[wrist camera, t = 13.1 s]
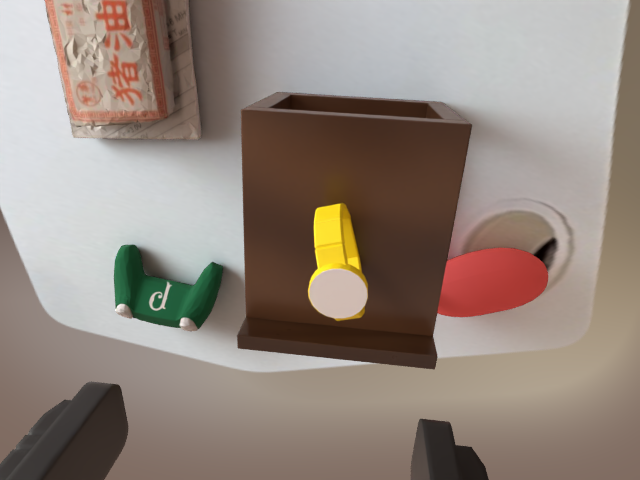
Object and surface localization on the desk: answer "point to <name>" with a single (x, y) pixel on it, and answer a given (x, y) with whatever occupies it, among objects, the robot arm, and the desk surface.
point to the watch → (337, 266)
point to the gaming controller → (163, 293)
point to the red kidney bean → (490, 282)
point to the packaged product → (126, 68)
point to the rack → (366, 216)
